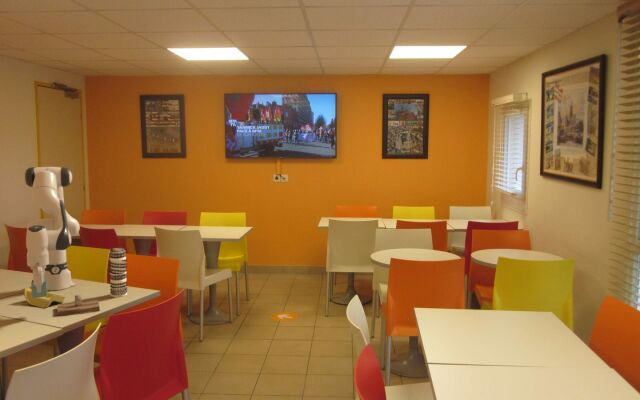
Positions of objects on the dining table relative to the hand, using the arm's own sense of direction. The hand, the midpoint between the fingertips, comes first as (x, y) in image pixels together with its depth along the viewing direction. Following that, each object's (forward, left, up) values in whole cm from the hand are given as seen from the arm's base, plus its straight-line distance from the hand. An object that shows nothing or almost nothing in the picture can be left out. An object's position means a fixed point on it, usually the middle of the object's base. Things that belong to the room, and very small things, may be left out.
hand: (39, 290), depth 234 cm
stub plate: (-1, +16, -12) cm, 20 cm away
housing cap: (0, 0, -3) cm, 3 cm away
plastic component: (-21, +1, -12) cm, 24 cm away
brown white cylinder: (-20, +36, -12) cm, 43 cm away
